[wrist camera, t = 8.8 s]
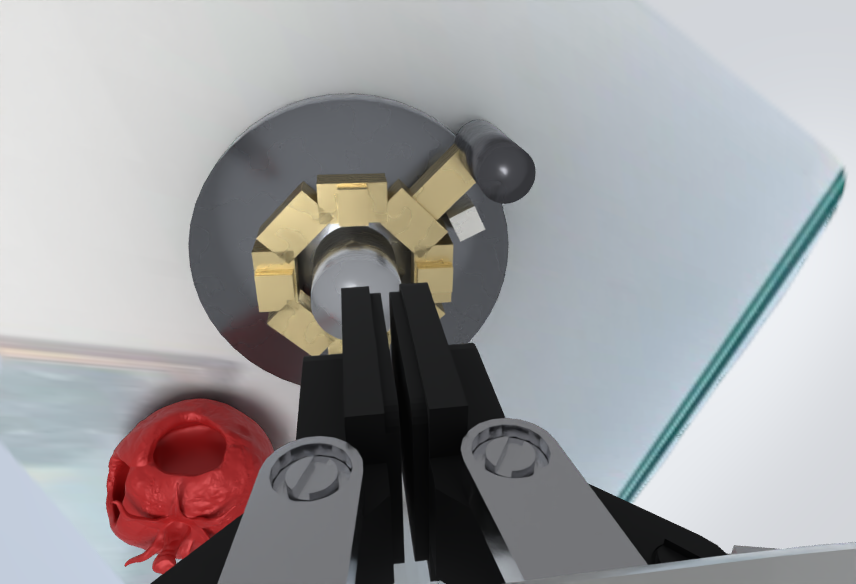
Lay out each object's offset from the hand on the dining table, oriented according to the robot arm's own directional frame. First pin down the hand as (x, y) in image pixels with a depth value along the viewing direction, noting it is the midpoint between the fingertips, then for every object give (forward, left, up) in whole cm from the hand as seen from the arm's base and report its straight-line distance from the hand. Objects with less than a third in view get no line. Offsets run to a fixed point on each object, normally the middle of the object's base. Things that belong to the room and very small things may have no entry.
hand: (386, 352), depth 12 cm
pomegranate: (-15, +17, -22) cm, 31 cm away
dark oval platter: (-6, +3, -22) cm, 23 cm away
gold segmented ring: (-5, 0, -19) cm, 20 cm away
